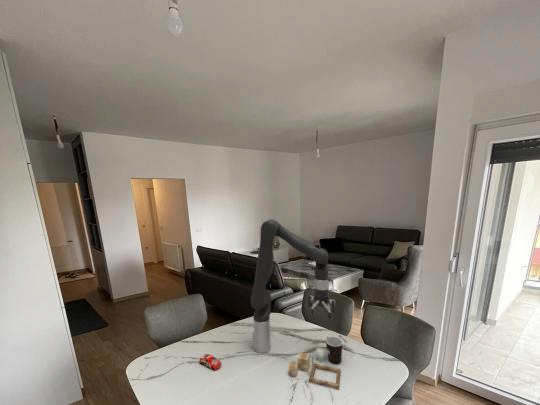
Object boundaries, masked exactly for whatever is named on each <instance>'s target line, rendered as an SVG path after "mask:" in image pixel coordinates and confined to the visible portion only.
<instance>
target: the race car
mask: <svg viewBox="0 0 540 405" xmlns="http://www.w3.org/2000/svg"><path fill="white" fill-rule="evenodd" d="M199 364H200V365H201V366H203V367H205V368H208V369H209V370H212V371H217V370H219V369H220V368H221V367H222V361H221V360H219V359H217V357H215V356H214V355H212V354H208V353H206V354H203V355H201V356H200V358H199Z"/></svg>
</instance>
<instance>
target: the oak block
mask: <svg viewBox="0 0 540 405" xmlns="http://www.w3.org/2000/svg"><path fill="white" fill-rule="evenodd" d="M310 359H311V358H310V354H309V353H306V352H299V353H298V356H297V371H301V372H305V373H309V369H310V366H311V365H310Z"/></svg>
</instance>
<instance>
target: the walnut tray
mask: <svg viewBox="0 0 540 405" xmlns="http://www.w3.org/2000/svg"><path fill="white" fill-rule="evenodd" d="M311 365H312V366H311V370H310V374H309V377H308V383H309V384H313V385H316V386H317V385H318V386H322V387H326V388H331V389H334V390H338V391H339V390H340V382H341V372H342V371H341V368H337V367H334V366H333V367H332V366H329V365H323V364H320V363H315V362H312V364H311ZM316 370H320V371H325V372H330V373H334V374H336V379H335V382H333V381H327V380H324V379H319V378H316V377H314V376H315V373H316Z"/></svg>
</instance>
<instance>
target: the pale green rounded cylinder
mask: <svg viewBox="0 0 540 405" xmlns="http://www.w3.org/2000/svg"><path fill="white" fill-rule="evenodd" d="M315 357H316V358H315V360H316V361H317V362H318V361H319V362H318V363H323V361H324V360H325V349H324V348H323V347H317V348H316V349H315ZM324 362H325V361H324Z"/></svg>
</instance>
